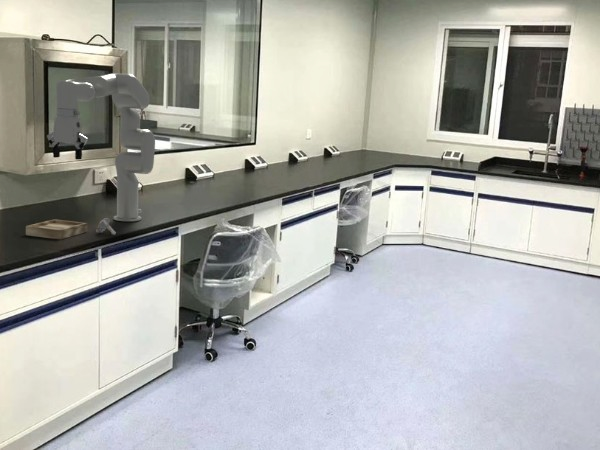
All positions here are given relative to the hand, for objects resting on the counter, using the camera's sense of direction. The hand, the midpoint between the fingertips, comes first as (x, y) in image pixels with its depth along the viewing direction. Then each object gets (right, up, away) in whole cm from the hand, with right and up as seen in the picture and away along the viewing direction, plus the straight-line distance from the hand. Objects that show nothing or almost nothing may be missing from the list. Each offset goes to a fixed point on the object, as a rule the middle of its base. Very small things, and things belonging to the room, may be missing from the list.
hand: (67, 158), depth 233 cm
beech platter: (-10, -30, +15) cm, 34 cm away
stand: (+8, -32, +20) cm, 38 cm away
